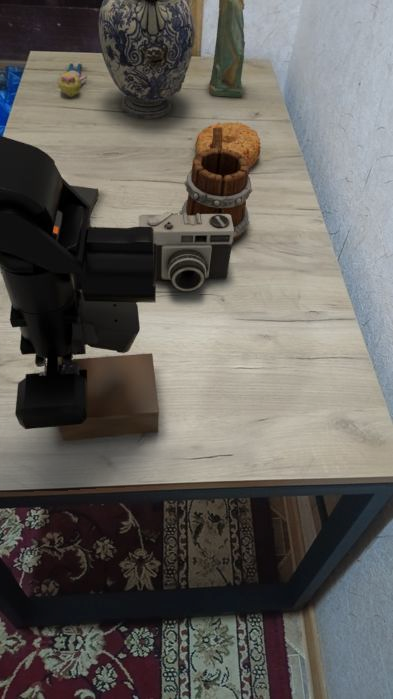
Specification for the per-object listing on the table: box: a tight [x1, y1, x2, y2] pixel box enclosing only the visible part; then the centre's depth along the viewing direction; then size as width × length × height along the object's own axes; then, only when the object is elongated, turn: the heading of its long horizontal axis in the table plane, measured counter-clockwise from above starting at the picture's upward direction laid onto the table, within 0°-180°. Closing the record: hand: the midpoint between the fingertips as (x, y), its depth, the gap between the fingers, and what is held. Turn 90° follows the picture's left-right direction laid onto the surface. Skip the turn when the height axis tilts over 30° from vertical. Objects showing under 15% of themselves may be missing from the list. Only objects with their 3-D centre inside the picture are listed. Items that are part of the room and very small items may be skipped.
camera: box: [138, 212, 234, 292], centre depth 72 cm, size 14×9×10 cm, turn 88°
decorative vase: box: [98, 0, 195, 120], centre depth 96 cm, size 21×19×28 cm
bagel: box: [194, 121, 262, 169], centre depth 96 cm, size 13×14×5 cm
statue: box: [209, 0, 246, 98], centre depth 104 cm, size 7×8×25 cm
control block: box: [54, 184, 100, 227], centre depth 80 cm, size 20×6×3 cm, turn 173°
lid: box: [60, 353, 160, 421], centre depth 56 cm, size 12×8×5 cm
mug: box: [178, 127, 253, 242], centre depth 80 cm, size 12×14×15 cm
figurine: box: [58, 61, 88, 97], centre depth 110 cm, size 6×4×15 cm
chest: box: [57, 415, 160, 442], centre depth 60 cm, size 11×8×4 cm
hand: (66, 385), depth 56 cm, fingers closed on lid, 4 cm apart
